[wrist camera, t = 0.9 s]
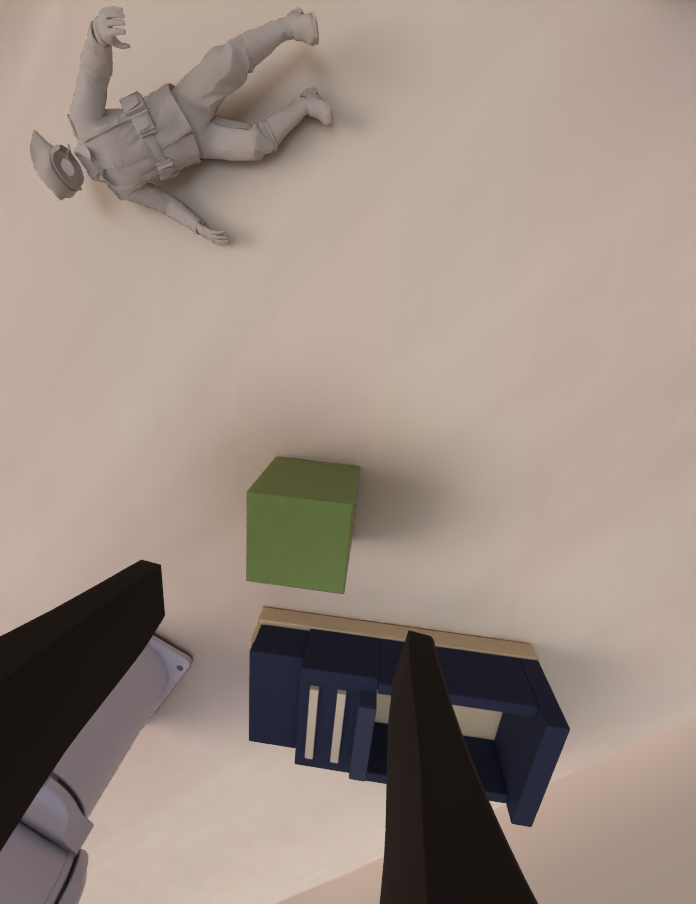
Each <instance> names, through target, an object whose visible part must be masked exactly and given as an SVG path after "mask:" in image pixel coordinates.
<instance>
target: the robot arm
mask: <svg viewBox="0 0 696 904" xmlns="http://www.w3.org/2000/svg"><path fill="white" fill-rule="evenodd" d="M164 616H165V610H164V598H163V585H162V573H161V565H160V564H156V563H152V562H148V561H144V560H140V561H138V562H136V563H135V564H133V565H131V566H129V567H127V568H126V569H124V570H122V571H120V572H119V573H117V574H115V575H113V576H112V577H110V578H108V579H106V580H105V581H103V582H101V583H99V584H98V585H96V586H94V587H92V588H91V589H89V590H87V591H85V592H83V593H82V594H80V595H78V596H76V597H74V598H73V599H71V600H69V601H67V602H65V603H64V604H62V605H60V606H58V607H56V608H55V609H53V610H51V611H49V612H47V613H45V614H43V615H41V616H39V617H37V618H35V619H33V620H31V621H29V622H27V623H26V624H24V625H22V626H20V627H18V628H16V629H14V630H12V631H10V632H8V633H6V634H4V635H2V636H0V904H78V903H79V900H80V898H81V895H82V892H83V889H84V886H85V882H86V876H87V865H88V853H87V852H86V851H85V850H83V849H80V848H81V846H82V845H83V843H84V841H85V840H86V838H87V836H88V834H89V833H90V831H91V829H92V828H93V826H94V825H93V823H92V822H91V821H89V820H88V817H89V815H90V814H91V812H92V810H93V809H94V807H95V805H96V804H97V802H98V800H99V799H100V797H101V795H102V794H103V792H104V790H105V789H106V787H107V786H108V784H109V782H110V781H111V779H112V777H113V776H114V774H115V772H116V771H117V769H118V767H119V766H120V764H121V762H122V761H123V759H124V757H125V756H126V754H127V752H128V751H129V749H130V747H131V746H132V744H133V742H134V741H135V739H136V737H137V736H138V734H139V732H140V731H141V730H142V728H143V727H144V726H145V724H146V723H147V722H148V721H149V719H150V718H151V717H152V715H153V714H154V713H155V711H156V710H157V709H158V707H159V706H160V705H161V703H162V702H163V701H164V700H165V698H166V697H167V696H168V694H169V693H170V692H171V690H172V689H173V688H174V686H175V685H176V684H177V682H178V681H179V680H180V678H181V677H182V676H183V675H184V673H185V672H186V671H187V669H188V668H189V667H190V665H191V663H192V659H191V658H190V657H189V656H188V655H186V654H185V653H183V652H181V651H179V650H178V649H176V648H174V647H173V646H171V645H169V644H168V643H166V642H164V641H163V640H161V639H159V638H157V637H156V636H154V633H155V631H156V630H157V628H158V626H159V625H160V623H161V621H162V620H163V618H164ZM380 904H538V903H537V901H536V899H535V897H534V895H533V893H532V891H531V889H530V887H529V885H528V883H527V881H526V879H525V878H524V875H523V873H522V871H521V869H520V867H519V865H518V863H517V861H516V859H515V857H514V854H513V852H512V850H511V848H510V846H509V844H508V842H507V840H506V838H505V835H504V833H503V831H502V829H501V827H500V825H499V823H498V820H497V818H496V816H495V814H494V811H493V809H492V807H491V804H490V802H489V800H488V798H487V795H486V793H485V790H484V788H483V786H482V783H481V781H480V778H479V776H478V773H477V771H476V768H475V766H474V763H473V761H472V758H471V756H470V753H469V751H468V748H467V745H466V743H465V740H464V737H463V734H462V732H461V729H460V726H459V723H458V720H457V717H456V714H455V712H454V709H453V706H452V703H451V700H450V697H449V693H448V690H447V687H446V684H445V680H444V677H443V674H442V670H441V666H440V663H439V659H438V655H437V651H436V647H435V642H434V639H433V638H432V636H429V635H426V634H422V633H418V632H414V631H410V630H408V633H407V636H406V640H405V643H404V646H403V649H402V652H401V655H400V659H399V662H398V665H397V668H396V671H395V674H394V678H393V684H392V692H391V701H390V710H389V719H388V747H387V789H386V831H385V850H384V863H383V874H382V886H381V896H380Z"/></svg>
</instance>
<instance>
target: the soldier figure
mask: <svg viewBox="0 0 696 904" xmlns="http://www.w3.org/2000/svg"><path fill="white" fill-rule="evenodd" d="M122 11H123V9H122V8H120V7H114V6H112V7H106V8H103V9H102V10H100V11H99V15H98V16H97V17H96V18H95V20H93V21H92V22H91V23H90V27H89V30H88V33H87V39H86V42H85V45H84V49H83V51H82V53H81V57H80V61H81V63H80V70H79V74H78V77H77V84H76V91H75V92H74V95H73V101H72V104H71V107H70V114H68V115H67V117H68V120H69V122H70V124H71V126H72V128H73V133H74V136H75V137H76V138H77V141H78V144H77V146H76V148H75V149H74V154H75V155H76V156H77V157H78V159H79V160H80V161H81V163H82V164H83V166H84V167H85V168H86V170H87V172H88V174H89V176H90V177H91V178H92V179H93V180H95V181H98V182H104V183H106V184H107V185H108V187H109V188H110V189H111V190H112V191H113V192H114V193H115V195H116V196H117V197H118V198H119V199H120V200H123V199H124V200H128V201H130V202H134V203H137V204H140V205H143V206H146V207H149V208H154V209H156V210H158V211H161V212H162V213H164V214H167V215H168V217H170V218H172V219H174V220H176V221H177V222H179V223H181V224H183V225H185V226H186V227H188V228H189V229H191V230H192V231H193V232H195V233H197V234H199V235H201V236H203V237H204V238H206V239H209V240H211V241H212V242H213V243H215V244H218V245H222V246H226V245H230V243H228V242H230V241H229V240H220V239H228V237H227V236H225V235H224V234H223V233H225V232H224V231H213V230H211V229H210V228H209V227H207V226H205V225H204V222H203V221H202V220H201V219H200V218H198V217H197V216H196V215H195V214H194V213H193V212H192V211H190V210H189V209H188V208H187V207H186V206H185V205H184V204H183V203H182V202H180V201H179V200H178V199H176V198H173V196H172V195H171V194H169V193H167V192H164V191H163V190H161V189H160V188H157V187H155V186H154V185H153V184H152V183H147V182H148V181H149V180H151V179H155V178H158V177H159V178H160V180H166V179H170V178H174V177H176V176H178V170H179V171H181V170H182V168H184V167H186V166H190V165H192V164H198V163H200V162H202V160H203V158H205V159H207V158H209V159H222V160H229V161H256V160H261V159H263V157H264V156H265V154H269V153H271V152H276V151H277V148H278V146H279V144H280V143H281V141H282V140H283V139H284V138H285V136H286V135H287V134H288V133H289V132H290V131H291V130H292V129H293V128H294V127H295V126H296V125H298V124H299V123H300V122H301V120H302V119H303V117H304V116H306V115H308V114H309V116H310V117H314V118H317V119H318V120H319V121H321V122H322V123H323V124H324V125H325V126H329V125H330V126H332V112H331V108H330V104H329V102H328V101H327V99H326V100H321V99H320V98H319V93H318V91H317V89H316V88H315V87H314V86H313V87H311V88H310V89H307V90H305V91H304V92H303V93H302V94H301V96H300V98H298V99H296V100H295V101H293V102H292V103H291V104H290V105H288V106H287V107H285V108H283V109H282V110H280V111H279V112H277V113H275V114H273V115H271V116H269V117H268V118H266V120H263V121H261V122H260V123H254V125H253V127H252V126H251V125H250V124H248V123H240V122H238V121H234V120H227V119H222V118H221V117H218V116H216V115H215V113H216V111H217V108H218V106H219V105H220V104H221V103H222V102H223V100H224V99H225V98H226V96H228V95H229V94H231V93H233V92H234V91H235V90H237V89H238V88H239V87H241V86H242V85H243V84H244V83H245V81H246V79H247V74H248V73H252V72H253V69H254V67H255V66H256V65H257V64H259V63H260V62H261V61H262V60H263V59H265V58H266V57H267V56H268V55H270V54H271V53H272V52H273V50H274V49H275V48H276V47H277V46H278V45H280V44H281V43H283V42H284V41H286V40H292V39H294V40H296V41H303V42H305V43H306V44H309V45H311V46H314V45H315V44H316V45H317V44H318V42H319V32H318V25H317V21H316V17H315V15H314V13H312V12H311V13H310V14H304V12H303V10H302V9H301V8H297V9H296V10H292V11H291V12H290V13H288V14H287V15H286V16H285V17H284V18H279V19H278V20H277V21H271V22H269V23H267V24H265V25H263V26H261V27H258V28H255V29H252V30H249V31H246V32H244V33H243V34H241V35H239V36H237V37H235V38H233V39H230V40H229V41H228V42H227V43H226V44H225V45H221V46H216V47H213V48H211V49H210V50H209V51H208V52H207V53H206V55H205V56H204V58H203V60H202V61H201V63H200V64H199V65H197V66H196V67H195V68H194V69H192V70H191V71H190V72H189V73H188V74H187V75H186V76H185V77H184V78H183V79H182V80H181V81H180V82H179V83H178V85H176V86H174V85H172V84H170V83H168V84H165V85H163V86H162V87H161V88H159V89H158V90H157V91H155V92H153V93H151V94H150V95H149V96H148V97H146V96H145V97H144V98H143V97H142V95H141V94H140V93H139V92H138V91H136V92H134V93H132V94H130V95H128V96H126V97H124V98H122V99H120V100H119V101H120V103H121V105H122V108H123V109H105V105H106V99H107V86H108V83H109V80H110V77H111V75H112V70H113V67H112V65H113V62H112V46H115V47H117V48H121V49H126V48H130V45H129V44H126V43H121V42H120V41H119V40H118V39H117V37H116V36H115V35H125V34H126V31H125V29H122V28H113V27H112V26H124V25H125V21H124V20H117V19H112V18H124V17H125V15H124V13H120V12H122ZM68 146H69V144H68ZM69 148H70V146H69V147H68V149H67V148H66V147H65V146H63V145H56V146H52V145H51V144H50V143H48V142H47V141H46V140H45V139H44V138H43V137H42V136H41V135H40V134H39V133H38V132H37V131H35V130H33V135H32V140H31V144H30V155H31V160H32V163H33V165H34V167H35V169H36V171H37V173H38V175H39V177H40V178H41V180H42V181H43V182H44V183H45V185H46V186H47V187H48V188H50V189H51V190H52V191H53V193H54V194H55V195H56V196H57V197H58V198H59V199H60V200H63V199H64V198H71V197H72V196H74V194H75V193H76V192H77V191H78V190H82V188H81V186H82V184H83V181H84V176H83V172H82V169H81V167H80V165H79V163H78V162H77V160H76V159H75V157H74V156H73V155H72V153H71V150H70V151H69Z"/></svg>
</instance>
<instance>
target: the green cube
mask: <svg viewBox="0 0 696 904" xmlns="http://www.w3.org/2000/svg"><path fill="white" fill-rule="evenodd" d="M359 470H360V467H359V466H350V465H341V464H333V463H324V462H316V461H307V460H298V459H290V458H281V457H275V458H274V460H273V461H272V462H271V463H270V464H269V466H268V467H267V468H266V469H265V470H264V472H263V473H262V474H261V475H260V476H259V478H258V479H257V480H256V481H255V482H254V484H253V485H252V486H251V487H250V488H249V490H248V491H247V558H246V580H247V581H251V582H259V583H266V584H274V585H281V586H288V587H296V588H303V589H310V590H318V591H325V592H333V593H340V594H344V591H345V584H346V577H347V570H348V564H349V557H350V550H351V543H352V535H353V526H354V516H355V507H356V498H357V488H358V479H359Z"/></svg>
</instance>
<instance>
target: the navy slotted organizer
mask: <svg viewBox="0 0 696 904" xmlns="http://www.w3.org/2000/svg"><path fill="white" fill-rule="evenodd" d="M408 630H410V631H414V632H418V633H422V634H426V635H429V636H432V638H433V639H434V642H435V647H436V651H437V655H438V659H439V663H440V666H441V670H442V674H443V677H444V680H445V684H446V687H447V690H448V693H449V697H450V700H451V703H452V706H453V709H454V712H455V714H456V717H457V720H458V723H459V726H460V729H461V732H462V734H463V737H464V740H465V743H466V745H467V748H468V751H469V753H470V756H471V758H472V761H473V763H474V766H475V768H476V771H477V773H478V776H479V778H480V781H481V783H482V786H483V788H484V790H485V793H486V795H487V798H488V800H489V801H495V802H501V803H506V804H507V808H508V812H509V815H510V820H511V823H512V824H516V825H522V826H528V827H531V826H532V824H533V822H534V819H535V817H536V814H537V812H538V809H539V807H540V804H541V802H542V799H543V796H544V794H545V792H546V789H547V786H548V784H549V781H550V779H551V776H552V774H553V771H554V769H555V766H556V764H557V761H558V759H559V756H560V754H561V751H562V749H563V746H564V743H565V741H566V738H567V736H568V733H569V731H570V728H569V726H568V724H567V722H566V719H565V717H564V715H563V713H562V711H561V709H560V707H559V704H558V702H557V700H556V698H555V696H554V694H553V691H552V689H551V687H550V685H549V683H548V681H547V679H546V676H545V674H544V672H543V670H542V668H541V666H540V663H539V661H538V657H537V655H536V653H535V651H534V649H533V647H532V645H531V644H526V643H519V642H511V641H504V640H497V639H490V638H483V637H475V636H468V635H461V634H454V633H447V632H439V631H432V630H425V629H418V628H411V627H403V626H396V625H389V624H382V623H375V622H368V621H360V620H353V619H346V618H339V617H332V616H324V615H317V614H310V613H303V612H296V611H288V610H281V609H274V608H267V607H263V609H262V611H261V614H260V616H259V618H258V624H257V627H256V629H255V631H254V634H253V636H252V638H251V641H250V677H249V741H254V742H260V743H266V744H273V745H279V746H285V747H291V748H296V752H295V764H298V765H304V766H311V767H317V768H323V769H329V770H335V771H342V772H348V773H349V779H353V780H359V781H372V782H378V783H384V784H387V747H388V719H389V710H390V701H391V692H392V684H393V678H394V674H395V671H396V668H397V665H398V662H399V659H400V655H401V652H402V649H403V646H404V643H405V640H406V636H407V633H408Z"/></svg>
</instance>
